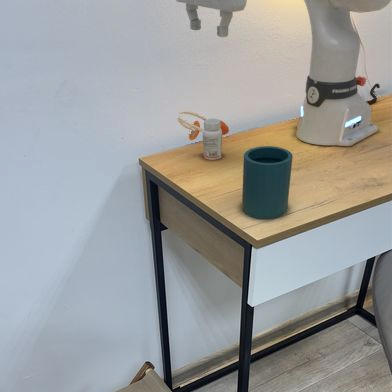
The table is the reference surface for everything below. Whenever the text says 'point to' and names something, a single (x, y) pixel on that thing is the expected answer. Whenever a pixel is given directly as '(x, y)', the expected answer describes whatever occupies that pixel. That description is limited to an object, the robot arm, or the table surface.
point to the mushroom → (198, 125)
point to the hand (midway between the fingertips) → (208, 33)
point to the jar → (266, 182)
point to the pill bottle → (212, 139)
